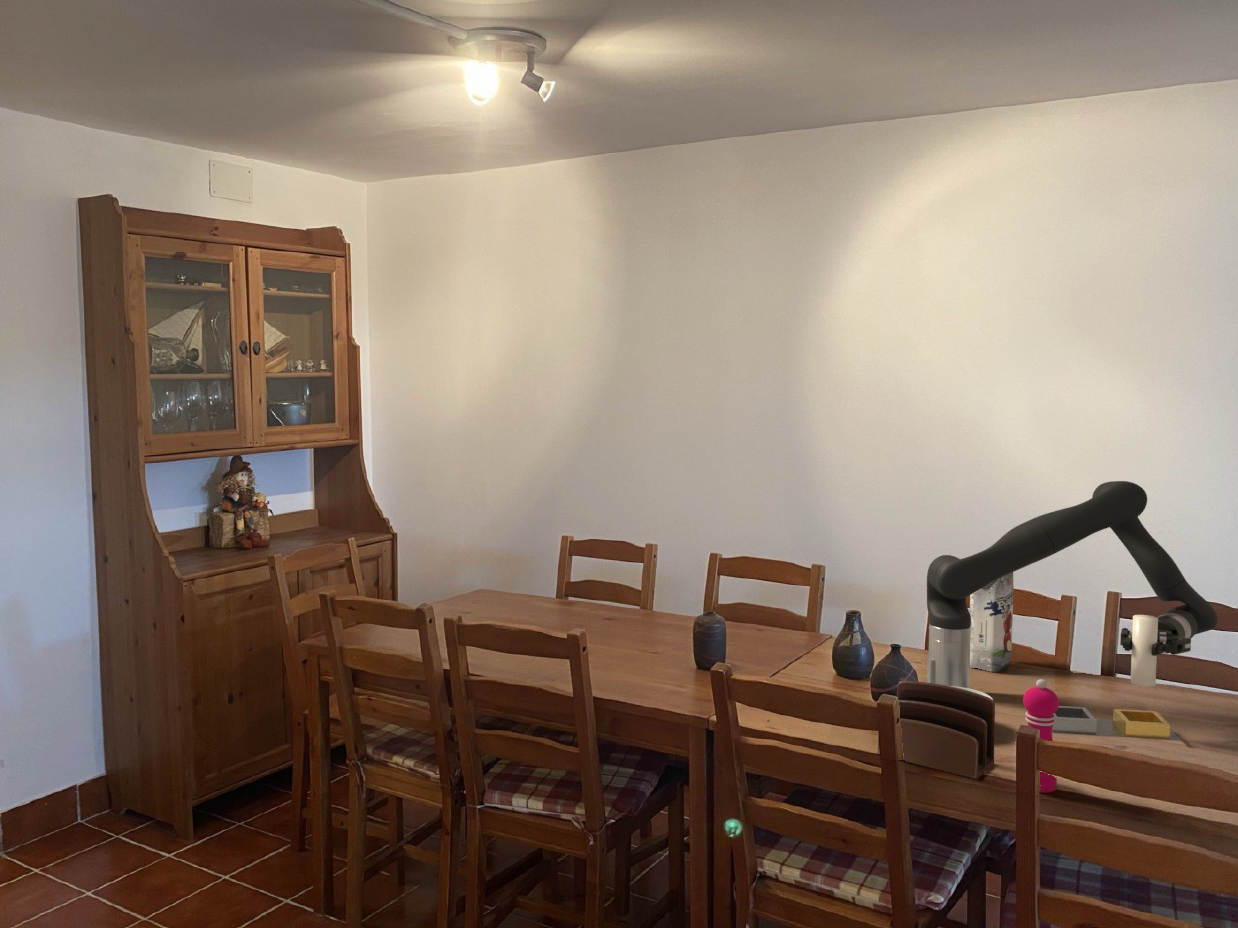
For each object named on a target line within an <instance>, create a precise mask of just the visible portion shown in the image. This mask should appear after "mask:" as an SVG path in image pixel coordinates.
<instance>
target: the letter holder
mask: <svg viewBox="0 0 1238 928" xmlns="http://www.w3.org/2000/svg"><path fill="white" fill-rule="evenodd" d="M896 693H897V696H896V698H897V699H898V701H899V705H900V720H901V728H902V743H903V753H904V759H905V762H904V763H908V764H914V765H917V766H921V767H924V768H928V769H932V770H936V771H939V772H946V773H948V774H953V775H957V776H961V777H963V778H964V777H965V778H968V779H972V780H976V781H977V780H979V778H980V777H982V776H983V775H984V774H985V773H986V772H987V771H988V770H989V769H990V768H992V766H993V765H994V764H995V732H996V731H995V726H996V725H995V722H996V721H995V720H996V719H995V718H996V704H995V702H994V699H993V698H992V697H991V698H992V699H993V700H992V699H991V698H989V697H986V696H983V695H980V694H977V693H974V692H971V691H967V690H964V689H959V688H955V687H951V686H946V685H940V684H934V683H927V681H925V682H924V681H917V680H916V681H915V680H900V681H898V683H897V688H896ZM897 699H896V700H897ZM877 737H878V740H877V755H878V756H880V755H879V735H878V736H877ZM984 772H985V773H984Z"/></svg>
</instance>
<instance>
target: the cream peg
mask: <svg viewBox="0 0 1238 928" xmlns="http://www.w3.org/2000/svg"><path fill="white" fill-rule="evenodd" d="M1157 617H1158V616H1157ZM1157 617H1156V616H1154V615H1148V614H1134V615H1133V616H1132V650H1131V660H1130V663H1131V664H1130V666H1131V667H1130V684H1132V685H1135V686H1138V687H1144V688H1150V687H1151V688H1153V687H1155V686H1156V684H1157V681H1156V680H1157V678H1156V677H1157V658H1158V655H1157V656H1153V655H1152V654H1151V653H1152V645H1153V644H1155V643H1157V633H1158V618H1157Z"/></svg>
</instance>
